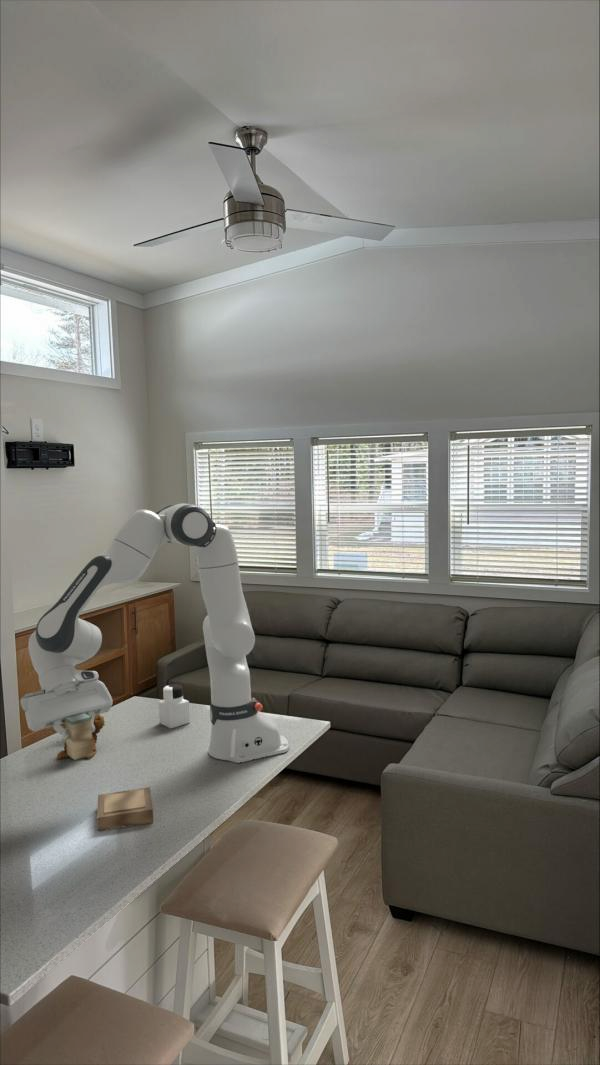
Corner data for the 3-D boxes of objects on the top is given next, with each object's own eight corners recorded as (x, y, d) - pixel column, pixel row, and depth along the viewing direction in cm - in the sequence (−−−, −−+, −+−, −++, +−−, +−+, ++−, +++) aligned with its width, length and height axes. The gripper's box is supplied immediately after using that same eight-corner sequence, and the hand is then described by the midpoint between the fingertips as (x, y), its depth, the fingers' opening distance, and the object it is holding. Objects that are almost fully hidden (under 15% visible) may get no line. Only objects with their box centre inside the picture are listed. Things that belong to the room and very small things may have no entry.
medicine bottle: (179, 717, 228) (177, 681, 227) (190, 723, 222) (188, 685, 221) (159, 723, 223) (157, 686, 222) (170, 728, 218) (168, 690, 217)
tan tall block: (85, 749, 171) (82, 712, 170) (93, 754, 167) (90, 716, 167) (67, 754, 168) (64, 717, 167) (74, 759, 165) (71, 721, 164)
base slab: (150, 799, 170) (149, 786, 170) (153, 822, 158) (152, 808, 158) (99, 807, 167) (98, 793, 167) (97, 831, 155) (96, 816, 155)
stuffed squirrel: (54, 760, 197) (51, 714, 196) (80, 741, 210) (77, 698, 209) (87, 762, 195) (84, 715, 194) (111, 742, 208) (108, 699, 207)
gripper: (20, 688, 165) (38, 740, 158) (103, 670, 178) (122, 717, 171) (15, 703, 169) (32, 754, 162) (97, 684, 182) (116, 730, 175)
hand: (79, 734), depth 167 cm, fingers closed on tan tall block, 4 cm apart
